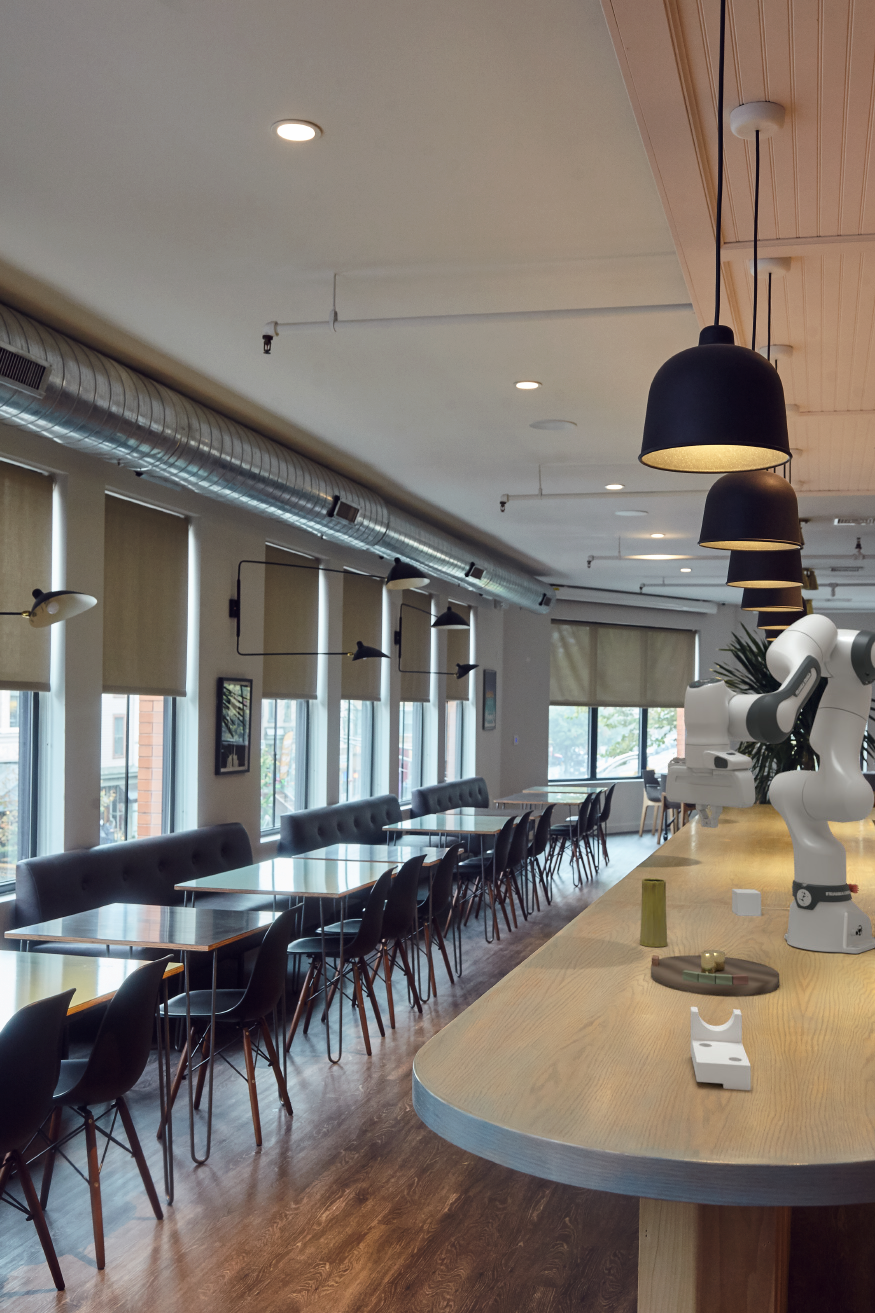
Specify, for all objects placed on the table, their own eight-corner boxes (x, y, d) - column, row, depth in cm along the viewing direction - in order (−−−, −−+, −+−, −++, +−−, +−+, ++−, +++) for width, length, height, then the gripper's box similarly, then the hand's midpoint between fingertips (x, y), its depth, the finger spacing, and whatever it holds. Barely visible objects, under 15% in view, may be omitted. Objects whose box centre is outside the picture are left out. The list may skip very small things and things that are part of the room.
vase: (667, 948, 231) (667, 882, 231) (639, 946, 232) (639, 881, 233) (667, 942, 237) (667, 878, 237) (639, 941, 238) (639, 877, 239)
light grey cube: (732, 912, 277) (732, 889, 277) (755, 912, 277) (754, 889, 277) (737, 916, 271) (737, 892, 271) (761, 916, 271) (761, 893, 271)
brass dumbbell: (705, 964, 206) (705, 941, 206) (726, 966, 204) (726, 943, 204) (695, 978, 194) (695, 954, 195) (717, 980, 193) (717, 956, 193)
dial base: (709, 960, 219) (709, 943, 220) (806, 985, 200) (806, 966, 200) (625, 974, 206) (625, 956, 206) (720, 1002, 186) (720, 982, 186)
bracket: (690, 1058, 156) (690, 1006, 157) (739, 1061, 155) (739, 1009, 155) (696, 1088, 143) (696, 1032, 144) (750, 1092, 142) (750, 1035, 143)
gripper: (658, 757, 219) (659, 824, 219) (738, 761, 203) (740, 833, 202) (678, 756, 223) (680, 821, 222) (758, 759, 206) (761, 830, 206)
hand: (709, 827), depth 212 cm, fingers closed
